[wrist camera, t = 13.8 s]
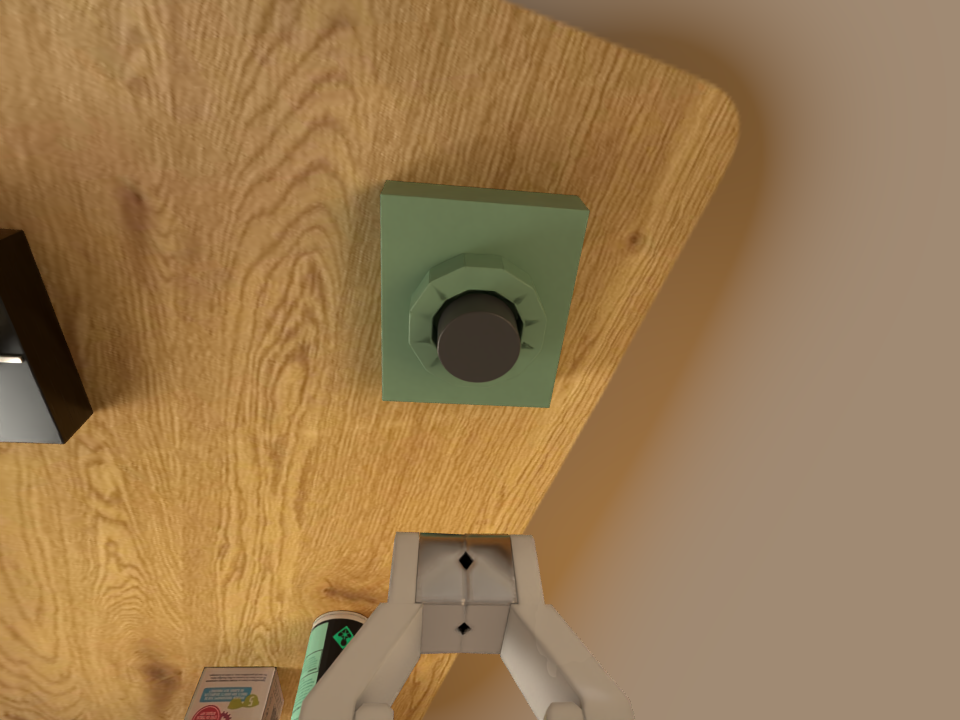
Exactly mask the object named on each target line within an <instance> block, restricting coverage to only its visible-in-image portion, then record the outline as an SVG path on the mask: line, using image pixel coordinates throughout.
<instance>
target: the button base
mask: <svg viewBox="0 0 960 720" xmlns="http://www.w3.org/2000/svg"><path fill="white" fill-rule="evenodd" d="M589 212H590V211H589V209H588V208H587V207H586V206H585V204H584V203H583V202H582V201H581V199H580V198H579V197H578V196H573V195H561V194H549V193H537V192H524V191H512V190H500V189H488V188H476V187H463V186H451V185H439V184H427V183H415V182H402V181H390V180H387V181H386V182H385V185H384V187H383V189H382V192H381V194H380V226H381V326H382V400H383V401H401V402H425V403H448V404H471V405H494V406H517V407H540V408H549V407H550V402H551V397H552V392H553V387H554V383H555V378H556V373H557V368H558V363H559V358H560V353H561V348H562V344H563V339H564V334H565V329H566V324H567V319H568V314H569V309H570V304H571V300H572V295H573V290H574V285H575V280H576V275H577V270H578V265H579V261H580V256H581V251H582V246H583V241H584V236H585V231H586V226H587V222H588V217H589ZM475 293H481V294H488V295H491V296H494V297H496V298H498V299H500V300H502V301H503V302H504V303H505V304H506V305H508V307H509V308H510V309H511V311H512V312H513V314H514V317H515V320H516V324H517V329H518V333H519V337H520V343H521V348H520V354H519V357H518V359H517V361H516V363H515V364H514V366H513V367H512V368H511V369H510V370H509V371H508V372H507V373H506V374H505V375H503V376H501V377H500V378H497V379H495V380H492V381H489V382H482V383H473V382H467V381H463V380H460V379H458V378H456V377H455V376H453V375H452V374H450V373H449V372H448V371H447V370H446V369H445V368H444V366H443V365H442V364H441V362H440V360H439V357H438V352H437V336H438V322H439V319H440V316H441V314H442V313H443V311H444V309H445V308H446V307H447V306H448V305H449V304H450V303H451V302H453V301H454V300H456V299H458V298H460V297H462V296H465V295H468V294H475Z"/></svg>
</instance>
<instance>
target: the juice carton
mask: <svg viewBox="0 0 960 720" xmlns="http://www.w3.org/2000/svg"><path fill="white" fill-rule="evenodd" d="M266 701H267V702H266ZM283 703H284V699H283V695H282V690H281V686H280V682H279V678H278V673H277V669H276V667H216V668H204V670H203V672H202V675H201V677H200V680H199V683H198V685H197V688H196V690H195V693H194V695H193V698H192V701H191V703H190V706H189V708H188V711H187V713H186V716H185V719H184V720H279V719H280V715H281V711H282V707H283Z"/></svg>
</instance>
